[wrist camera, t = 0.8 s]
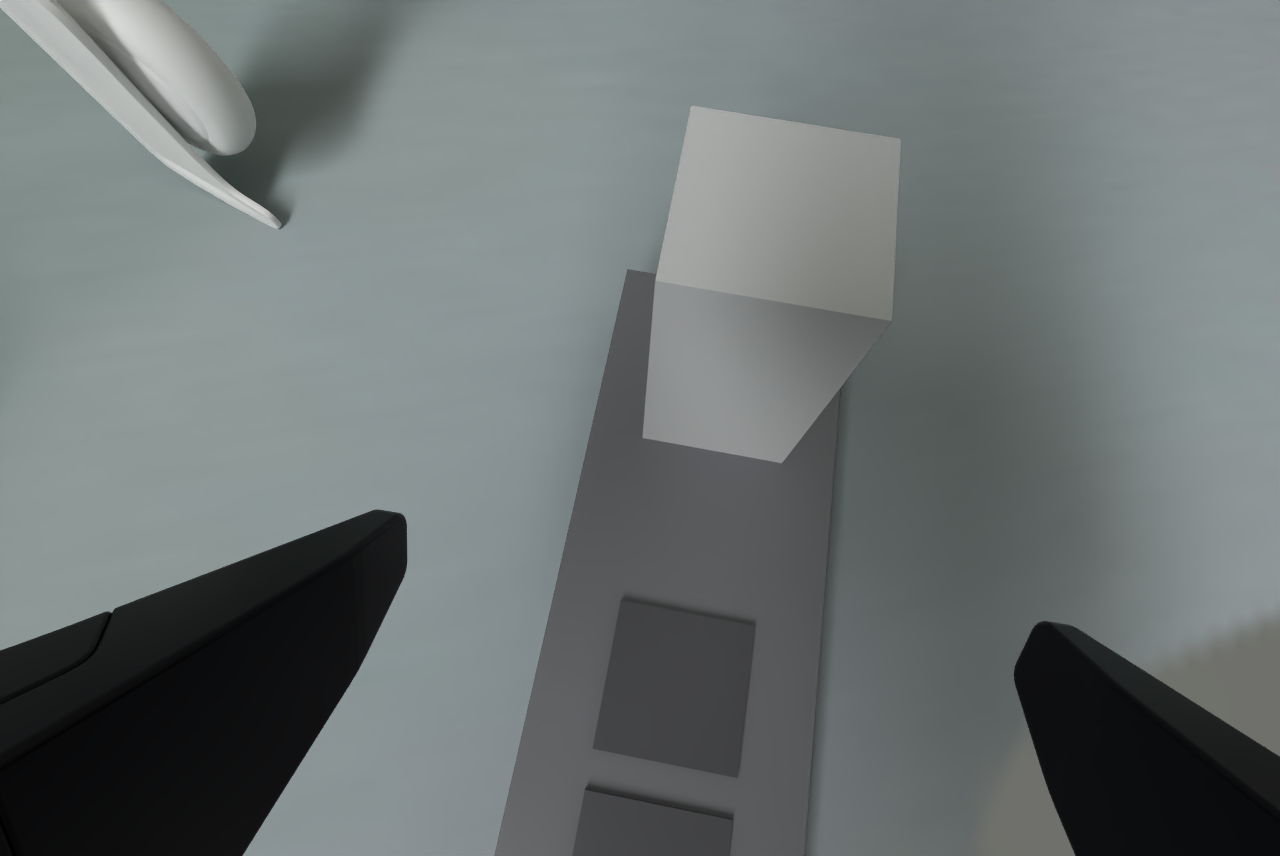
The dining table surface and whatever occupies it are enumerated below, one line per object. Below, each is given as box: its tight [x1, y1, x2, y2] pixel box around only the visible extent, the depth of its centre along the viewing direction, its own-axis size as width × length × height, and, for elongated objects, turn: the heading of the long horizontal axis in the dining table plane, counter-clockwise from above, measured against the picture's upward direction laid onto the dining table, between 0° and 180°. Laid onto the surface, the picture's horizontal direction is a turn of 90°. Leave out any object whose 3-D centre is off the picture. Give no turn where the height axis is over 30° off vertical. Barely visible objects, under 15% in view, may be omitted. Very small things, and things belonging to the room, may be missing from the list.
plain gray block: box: [642, 106, 901, 463], centre depth 18 cm, size 5×5×12 cm
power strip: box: [494, 269, 841, 856], centre depth 20 cm, size 24×8×4 cm, turn 170°
